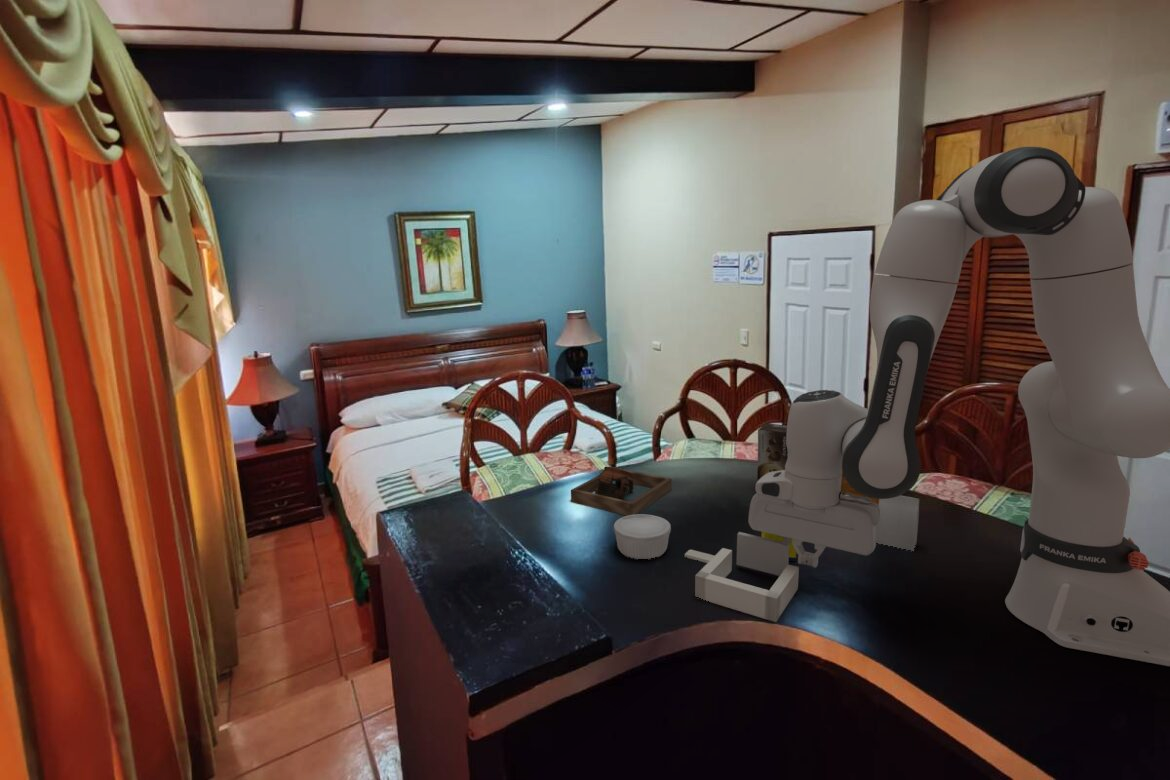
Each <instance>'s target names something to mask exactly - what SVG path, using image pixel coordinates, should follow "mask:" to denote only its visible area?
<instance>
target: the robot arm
mask: <svg viewBox="0 0 1170 780" xmlns="http://www.w3.org/2000/svg"><path fill="white" fill-rule="evenodd" d="M1010 235H1011V236H1012V235H1014V236H1016V237H1017V238H1019V240H1020V241H1021V242H1022V244H1023V246H1024V248H1025V250H1026V254H1027V256H1028V264H1029V265H1028V267H1029V280H1030V290H1031V291H1030V292H1031V298H1032V301H1031V302H1032V308H1033V318H1034V328H1035V331H1036V334H1037V335H1038V337H1039V339H1040V340H1041V341H1042V343H1043V344H1044V345H1045V348H1046V349H1047V351H1048V353H1049V357H1050V358H1051V361H1046V362H1042V363H1040V364H1036V365H1035V366H1033V367H1032V368H1030V369H1029V370H1028V371H1027V372H1026V373H1025V374H1024V375H1023V377H1022V378H1021V380H1020V382H1019V384H1018V388H1017V389H1018V390H1017V394H1018V395H1017V396H1018V400H1019V402H1020V405H1021V407H1022V409H1023V411H1024V413H1025V417H1026V420H1027V421H1026V422H1027V428H1028V429H1027V431H1028V437H1029V444H1030V450H1031V458H1032V459H1031V460H1032V472H1033V473H1032V486H1031V496H1030V505H1029V511H1028V512H1029V513H1028V518H1027V519H1026V520H1025V521H1024V525H1023V528H1022V533H1021V539H1020V540H1021V541H1020V555H1021V560H1020V562H1019V563H1020V564H1019V567H1018V570H1017V573H1016V576H1015V579H1014V582H1013V584H1012V586H1011V588H1010V590H1009V592H1008V594H1007V595H1006V597H1005V600H1004V603H1005V605H1006V608H1007V610H1008V611H1009V612H1010V613H1011V614H1012V615H1014V617H1015V618H1017V619H1019V620H1020V621H1022V622H1023V623H1024V624H1027V625H1028V626H1030V627H1032V628H1034V629H1035V630H1038V631H1040V632H1042V633H1043V634H1045V636H1046V637H1048V638H1049V639H1050V640H1052V641H1053V642H1054V643H1056V644H1057V645H1059V646H1061V647H1064V648H1068V649H1072V650H1073V649H1074V650H1079V651H1085V652H1090V653H1096V654H1100V655H1107V656H1110V657H1117V658H1121V659H1129V660H1133V661H1139V662H1143V663H1144V662H1145V663H1151V664H1155V665H1160V666H1165V667H1170V590H1168V588H1166V587H1165V586H1163V585H1162V584H1160V583H1159V582H1158V581H1157V580H1156V579H1154V578H1153V577H1152V576H1150V575H1149V574H1148V573H1147V572H1145V571H1144V570H1146V569H1148V568H1149V567H1150V564H1149V563H1150V562H1149V561H1148V558H1147V555H1145V554H1144V553H1142V552H1141V549H1140V547H1139V546H1138V545H1137V544H1135V542H1134V541H1133V539H1132V538H1131V537H1128V538H1126V537H1125V536H1124V533H1125V528H1126V521H1127V515H1128V509H1129V502H1130V496H1131V490H1130V489H1131V488H1130V484H1129V482H1128V480H1127V478H1126V477H1125V475H1124V473H1123V470H1122V469H1121V466H1120V463H1119V462H1120V461H1119V459H1118V457H1121V458H1122V457H1123V458H1130V459H1131V458H1132V459H1147V458H1148V459H1149V458H1152V457H1156V456H1159V455H1161V454H1164V453H1165V452H1167V451H1169V450H1170V388H1169V386H1168V385H1167V383H1166V382H1165V380H1164V379H1163V377H1162V375H1161V373H1160V371H1159V369H1158V367H1157V364H1156V361H1155V359H1154V358H1153V355H1152V353H1151V350H1150V347H1149V345H1148V343H1147V340H1146V338H1145V334H1144V332H1143V328H1142V325H1141V322H1140V317H1139V312H1138V311H1139V310H1138V303H1137V302H1138V301H1137V293H1136V283H1135V282H1136V281H1135V273H1134V271H1135V269H1134V259H1133V249H1132V244H1131V243H1132V242H1131V237H1130V233H1129V229H1128V225H1127V221H1126V217H1125V214H1124V211H1123V209H1122V206H1121V203H1120V201H1119V199H1118V197H1117V196H1116V195H1115V193H1113V192H1112V191H1110V190H1108V189H1105V188H1101V187H1094V186H1085V184H1084V183H1083V182H1082V181H1081V180H1080V178H1078V177H1077V175H1076V174H1075V172H1074V168H1072V166H1071V164H1070V163H1069V161H1067V160H1066V158H1065V157H1063V155H1061V154H1060V153H1058V152H1056V151H1054V150H1052V149H1049V148H1046V147H1042V146H1021V147H1020V146H1019V147H1017V148H1013V149H1009V150H1007V151H1003V152H999V153H997V154H994V155H992V156H989V157H987V158H984V159H982V160H981V161H979V162H977V164H975V165H973V166H971V167H968V168H967V169H965V170H963V172H961V173H960V174H959V175H957V176H956V177H955V178H954V179H953V180H952V181H951V182H950V184H949V185H948V186H947V187H946V188H945V189H944V191H943V192H942V193H941V194H940V195H939V196H938V197H937V198H936V199H923V200H918V201H914V202H911V203H909V204H907V205H905V206H904V207H901V209H900V210H898V212H897V213H896V214H895V216H894V217H893V220H892V222H891V225H890V226H889V229H888V231H887V233H886V236H885V239H884V241H883V244H882V247H881V250H880V252H879V255H878V256H879V257H878V259H877V263H876V267H875V271H874V275H873V279H872V285H871V290H870V291H871V292H870V301H869V320H870V321H869V322H870V326H871V329H872V333H873V337H874V340H875V347H876V358H877V359H876V361H877V362H876V363H877V364H876V368H875V369H876V370H875V375H874V381H873V386H872V390H871V395H870V400H869V405H868V408H867V407H864V406H861V405H859V404H858V403H855V402H853V401H852V400H851V399H849V398H847V397H846V396H844V395H843V394H842V393H841V392H840V391H836V390H834V389H833V390H828V389H820V390H813V391H812V390H811V391H808V392H806V393H802V394H800V395H798V396H797V397H796V398H795V399H794V400H793V401H792V403H791V405H790V407H789V411H788V417H787V423H786V424H787V435H786V446H787V449H788V459H787V462H786V464H785V470H781V471H773V472H769V473H767V474H765V475H764V476H762V477H761V478H760V479H759V480H758V481H757V480H756V483H755V492H756V493H755V494H754V495H753V496H752V498H751V500H750V504H749V511H748V525H749V526H750V528H751V529H752V530H753V531H758V532H761V533H762V532H765V533H770V534H774V535H778V536H783V537H787V538H792V545H793V547H794V549H795V550H796V555H797V564H799V565H803V566H808V567H812V568H815V569H816V568H817V566H818V565H819V557H820V556H821V555H822V553H823V552H824V550H825V549H826V548H832V549H834V550H840V551H844V552H848V553H853V554H858V555H861V556H869V555H870V554H872V553H873V552H874V550H875V549H876V547H877V544H876V524H877V523H878V522H879V519H880V508H879V506H878V505H877V504H876V503H875V502H874V501H872V500H871V499H870V498H868V497H871V498H876V499H889V498H894V497H897V496H900V495H901V496H903V495H904V494H905V493H908V491H911V489H912V488H913V487H914V485H915V484H916V483H917V482H918V479H919V477H920V474H921V467H922V464H921V458H920V454H919V451H918V446H917V441H916V426H917V420H918V416H919V411H920V407H921V401H922V398H923V395H924V394H923V393H924V388H925V385H926V384H925V383H926V380H927V375H928V370H929V368H930V367H929V366H930V364H931V359H932V357H933V354H934V352H935V348H936V346H937V343H938V341H939V338H940V335H941V334H942V333H941V332H942V331H943V327H944V326H945V323H946V321H947V318H948V315H949V314H950V310H951V308H952V304H953V301H954V298H955V295H956V291H957V288H958V284H959V280H960V276H961V272H962V266H963V263H964V261H965V259H966V256H967V254H968V253H969V251H970V250H971V248H972V247H973V245H974V244H975V243H976V242H978V241H979V240H981V239H982V238H1002V237H1007V236H1010ZM842 470H843V474H844V477H845V479H846V481H847V482H848V483H849V485H850V486H851V487H852V488H853V489H855V490H856V491H857V492H859V493H861V494H863V495H865V496H867V497H864V496H856V495H852V494H847V493H842V492H841V481H842ZM870 503H872V504H870ZM873 504H874V505H873ZM803 542H806V543H809V544H814V550H816V551H815V553H812V552H809V551H806V550H805V548H804V546H803Z"/></svg>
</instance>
